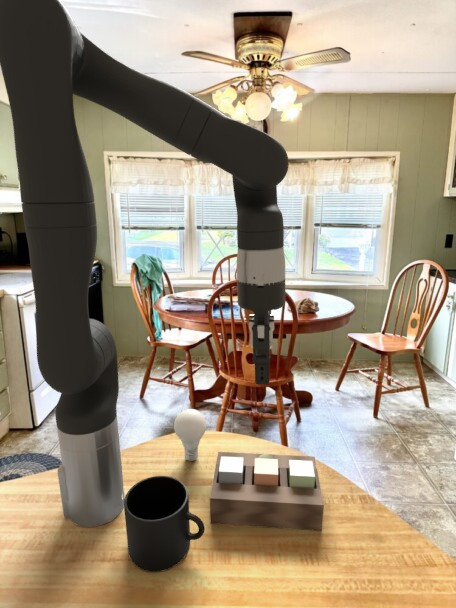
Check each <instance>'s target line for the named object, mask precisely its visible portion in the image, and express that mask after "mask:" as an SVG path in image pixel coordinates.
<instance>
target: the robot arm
mask: <svg viewBox="0 0 456 608" xmlns="http://www.w3.org/2000/svg"><path fill="white" fill-rule="evenodd" d="M0 69H1V73H2V77H3V81H4V84H5V85H4V86H5V90H6V93H7V98H8V103H9V108H10V114H11V119H12V126H13V137H14V149H15V159H16V167H17V174H18V179H19V180H18V181H19V191H20V202H21V209H22V215H23V224H24V230H25V235H26V240H27V246H28V254H29V256H28V257H29V264H30V271H31V278H32V279H31V280H32V286H33V294H34V302H35V303H34V305H35V332H36V334H35V335H36V337H35V338H36V360H37V365H38V369H39V372H40V374H41V376H42V378H43V380H44V381H45V383H46V384H47V385H48V386H49V387H50V388H51V389H53V390H54V391H56V392H58V393H59V394H60V397H59V399H58V402H57V404H56V407H55V410H54V412H55V413H54V415H55V424H56V430H57V438H58V442H59V443H58V444H59V451H60V457H61V464H60V465H59V466H58V468H57V470H56V472H57V477H58V478H57V479H58V484H59V492H60V499H61V506H62V507H61V508H62V512H63V518H64V519H69V520H71V521H72V522H73V524H75V525H76V526H78V527H82V528H95V527H99V526H103V525H104V524H107V523H109V522H112V521H113V520H114V519H115V518H117V517H118V516H119V515H120V514H121V513H122V510H123V508H124V499H125V488H124V478H123V477H124V476H123V466H122V457H121V456H122V455H121V454H122V453H121V445H120V433H119V423H118V414H117V410H118V409H117V405H118V398H119V392H120V391H119V389H120V387H119V366H118V365H119V364H118V351H117V345H116V341H115V339H114V336H113V333H112V332H111V331H110V329H109V328H108V326H107V325H105V324H104V323H102V322H101V321H100V320H97V319H95V318H90V315H89V314H90V313H89V288H90V284H91V279H92V278H91V277H92V272H93V269H94V262H95V257H96V251H97V242H98V241H97V240H98V227H97V225H98V224H97V223H98V222H97V215H96V214H97V213H96V203H95V193H94V188H93V183H92V179H91V174H90V171H89V167H88V163H87V160H86V156H85V152H84V150H83V146H82V143H81V139H80V136H79V133H78V132H79V131H78V128H77V123H76V116H75V109H74V96H77V97H79V98H82V99H84V100H85V99H86V100H88V101H89V102H92V103H94V104H96V105H99V106H100V107H104V108H105V109H106V110H107V109H108V110H109V111H111V112H113V113H115V114H117V115H119V116H121V117H122V118H125V119H126V120H128V121H130V122H132V124H135V125H136V126H138V127H140V128H142V129H143V130H145V131H147V132H148V133H150V134H151V135H153V136H154V137H157V138H158V139H160V140H162V141H163V142H164V143H167V144H168V145H170V146H172V147H174V148H176V149H177V150H179V151H181V152H183V153H185V154H187V155H188V156H190V157H191V158H194V159H196V160H198V161H201V162H203V163H209V164H211V165H214V166H216V167H218V168H220V169H221V170H222V171H225V172H226V173H228V174H229V175H232V176H231V177H232V186H233V187H232V188H233V194H234V200H235V201H234V202H235V208H236V216H237V217H236V218H237V219H236V236H237V237H236V238H237V241H236V242H237V253H236V254H237V255H236V288H237V289H236V290H237V305H238V306H239V308H241V309H243V310H246V311H252V312H253V314H249V320H248V329H249V331H250V348H252V359H251V360H252V362H253V364H254V382H255V384H256V385H259V386H260V385H262V386H263V385H264V386H265V385H266V386H267V385H269V384H270V363H271V360H272V359H271V354H270V353H271V352H270V350H271V349H273V346H274V345H273V344H274V342H273V341H274V339H273V338H274V337H273V336H274V335H273V334H274V333H273V332H274V331H275V314H274V313H273V314H272V313H271V314H270V312H271V311H273V310H274V311H276V310H279V309H281V308H283V307H284V306H285V304H286V259H285V249H284V248H285V247H284V246H285V245H284V241H285V240H284V238H285V237H284V236H285V235H284V232H285V231H284V217H283V213H282V211H281V210H280V208H279V205H278V192H277V191H278V190H277V189H278V188H277V187H278V185H279V184H280V183H281V182H283V180H284V178H286V176H287V173H288V172H289V165H290V163H289V156H288V153H287V151H286V149H285V147H284V146H283V145H282V143H280V141H278V140H277V138H274V137H273V136H271V135H270V134H268V133H266V132H265V131H262V130H260V129H258V128H256V127H253V126H251V125H250V124H249V125H248V124H246V123H244V122H242V121H239V120H236V119H235V118H234V119H233V118H231V117H229V116H227V115H225V114H224V113H223V112H221V111H219V110H217V108H215V107H213V106H211V105H209V104H208V103H207V102H205V101H203V100H201V99H200V98H198V97H196V96H194V95H193V94H191V93H189V92H188V91H186V90H184V89H182V88H180V87H178V86H176V85H174V84H171V83H169V82H167V81H164V80H162V79H159V78H156V77H154V76H151V75H148V74H147V73H143V72H142V71H139V70H136V69H135V68H132V67H130V66H128V65H126V64H125V63H123V62H122V61H119V60H117V59H116V58H114V57H113V56H111V55H110V54H108V53H107V52H106V51H104V50H103V49H102V48H101V47H99V46H98V45H97V44H95V43H94V42H93V41H92V40H90V39H89V38H88V37H87V36H86V35H84V34H83V33H82V32H81V31H80V30H79V28H78V26H77V25H76V23H75V21H74V19H73V17H72V16H71V14H70V12H69V10H68V9H67V8H66V7H65V5H64V4H63V2H61V0H0Z"/></svg>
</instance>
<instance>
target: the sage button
mask: <svg viewBox="0 0 456 608" xmlns="http://www.w3.org/2000/svg"><path fill="white" fill-rule="evenodd" d="M314 483H315V474H314V469H313V463H312V461H302V460H289V475H288V485H289V487H297V488H314Z"/></svg>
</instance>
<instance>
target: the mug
mask: <svg viewBox="0 0 456 608" xmlns="http://www.w3.org/2000/svg"><path fill="white" fill-rule="evenodd" d="M124 498H125V499H124V507H123V508H124V518H125V529H126V532H125V533H126V540H127V542H126V543H127V553H128V557H129V558H130V560H131V562H132V563H133V564H134V566H136V567H138V568H139V569H141V570H143V571H146V572H150V573H151V572H153V573H156V572H163V571H166V570H169V569H171V568H173V567H176V566H177V565H178V564H180V563H181V561H183V559H184V558H185V557H186V554H187V553H188V551H189V548H190V546H191V541H196V540H199V539H200V538H202V537H203V535H204V534H205V529H206V527H205V524H204V522H203V520H202V519H201V518H200V517H199V516H197V515H196V514H193V513H191V512H190V501H189V499H190V498H189V491H188V488H187V486H186V485H185V484H184V482H182V481H181V480H180V479H178V478H176V477H173V476H168V475H155V476H150V477H146V478H144V479H142V480H140V481H138V482H137V483H135V484H133V486H131V487H130V488H129V489H128V491H127V492H126V494H125V495H124ZM191 521H192V522H194V523H195V524H196V525H197V528H198V531H197V532H195V533H193V532H191V526H190V522H191Z"/></svg>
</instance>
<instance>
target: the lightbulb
mask: <svg viewBox="0 0 456 608" xmlns="http://www.w3.org/2000/svg"><path fill="white" fill-rule="evenodd" d="M173 429H174V432H175V435H176V436H177V437H178V439H179V440H180V441H181V443H182V446H183V450H184V459H185V460H186V461H188V462H190V461H191V462H192V461H196V460H197V459H198V457H199V452H198V451H199V445H200V442H201V439H202V437H203V436H205V433H206V429H207V420H206V417H205V416H204V414H203V413H202V412H200V411H199V410H197V409H194V408H187V409H184V410H181V411H180V412H179V414H177V416H176V417H175V420H174V423H173Z"/></svg>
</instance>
